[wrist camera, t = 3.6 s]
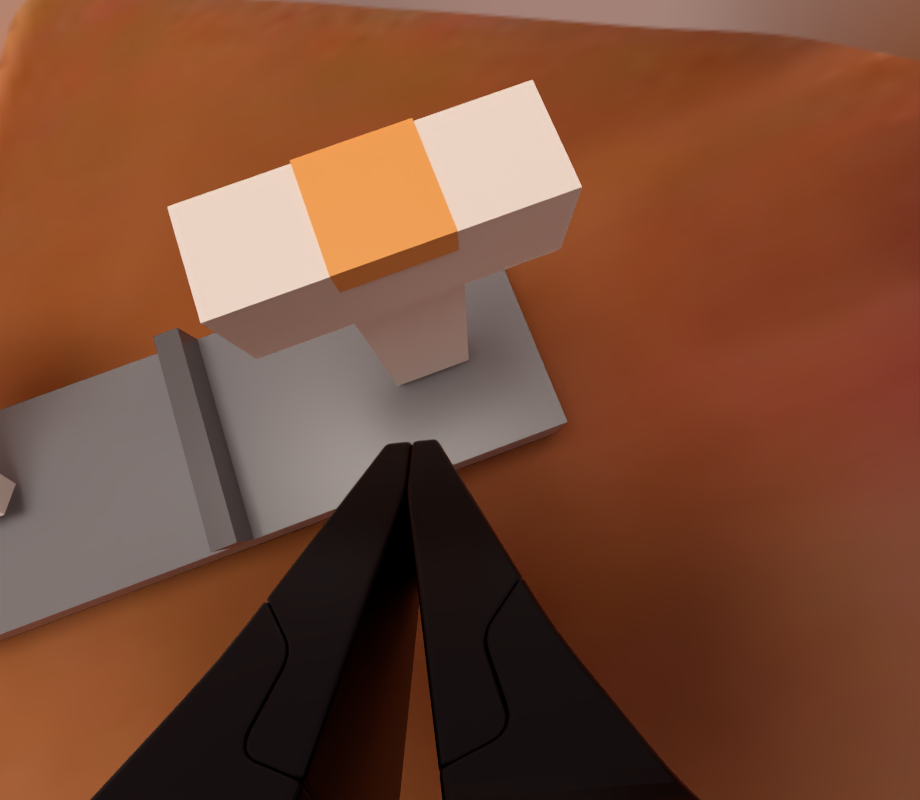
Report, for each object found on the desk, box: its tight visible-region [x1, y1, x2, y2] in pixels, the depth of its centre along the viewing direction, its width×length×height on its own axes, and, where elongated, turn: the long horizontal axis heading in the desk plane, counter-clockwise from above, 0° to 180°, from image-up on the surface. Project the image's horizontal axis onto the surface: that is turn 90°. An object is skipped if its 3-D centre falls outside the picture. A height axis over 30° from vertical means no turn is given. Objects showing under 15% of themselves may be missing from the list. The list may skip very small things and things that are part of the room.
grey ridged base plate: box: [0, 270, 567, 641], centre depth 18 cm, size 7×22×4 cm, turn 110°
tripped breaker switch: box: [167, 80, 582, 386], centre depth 12 cm, size 2×6×9 cm, turn 111°
